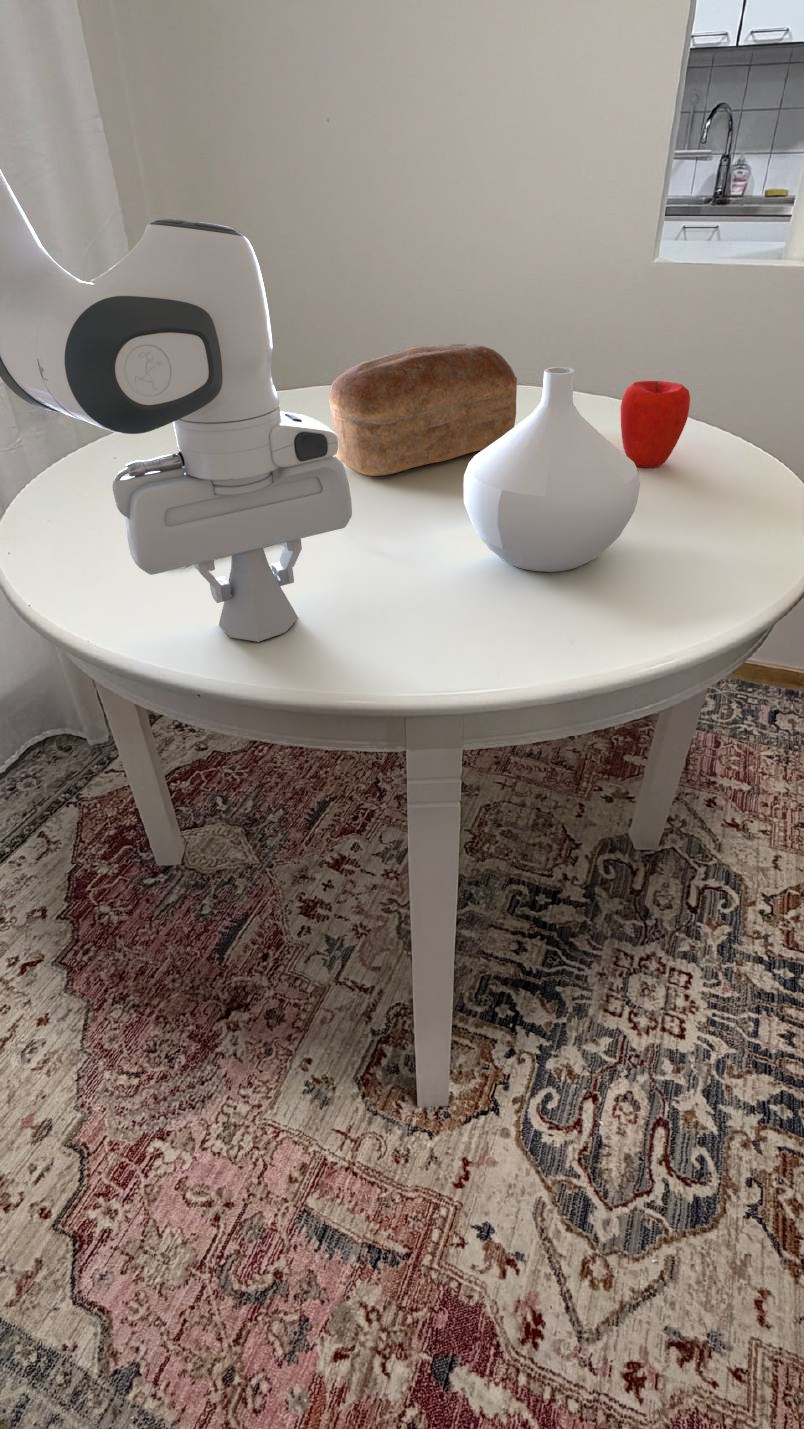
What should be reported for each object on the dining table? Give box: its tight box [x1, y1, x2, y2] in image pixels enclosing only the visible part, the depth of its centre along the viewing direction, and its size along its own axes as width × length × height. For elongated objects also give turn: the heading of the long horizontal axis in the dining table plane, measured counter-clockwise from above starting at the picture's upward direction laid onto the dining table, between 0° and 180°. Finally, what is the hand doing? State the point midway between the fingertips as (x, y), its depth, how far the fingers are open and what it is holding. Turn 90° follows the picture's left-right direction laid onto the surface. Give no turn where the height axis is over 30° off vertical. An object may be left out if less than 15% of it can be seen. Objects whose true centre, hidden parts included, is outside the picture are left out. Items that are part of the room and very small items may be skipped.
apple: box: [620, 380, 691, 468], centre depth 108 cm, size 9×9×11 cm
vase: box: [463, 366, 641, 573], centre depth 83 cm, size 18×18×19 cm
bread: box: [328, 343, 518, 477], centre depth 112 cm, size 12×28×14 cm, turn 124°
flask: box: [218, 548, 299, 643], centre depth 75 cm, size 7×7×10 cm
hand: (254, 590), depth 75 cm, fingers closed on flask, 5 cm apart
